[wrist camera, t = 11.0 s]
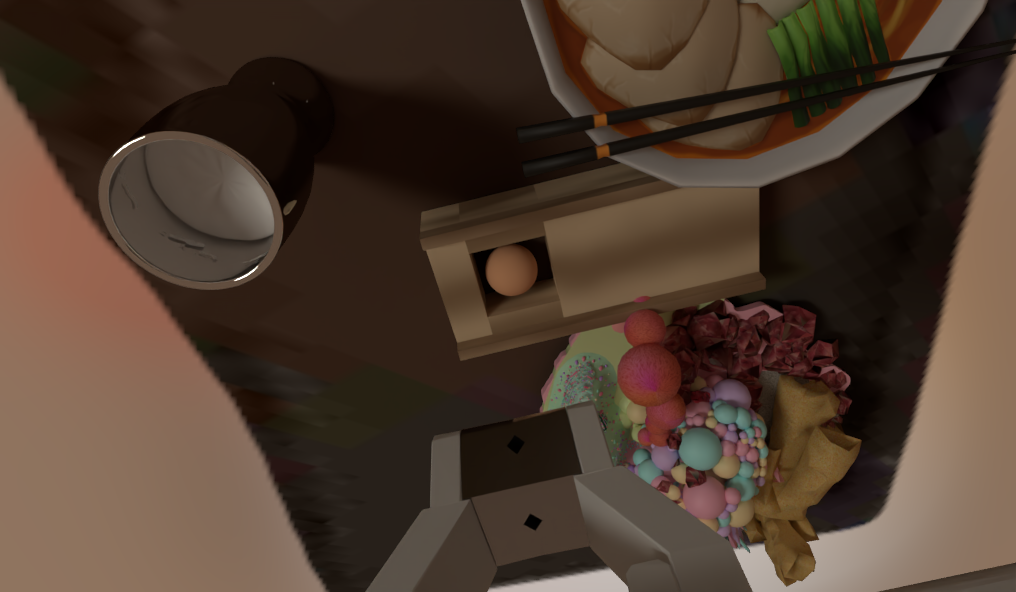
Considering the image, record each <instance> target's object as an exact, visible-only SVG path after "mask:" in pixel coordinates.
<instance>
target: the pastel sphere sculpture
mask: <svg viewBox="0 0 1016 592" xmlns="http://www.w3.org/2000/svg"><path fill="white" fill-rule="evenodd" d="M649 299H650V297H649V296H641V297H638V298H636V299H635V300H634V302H644V301H647V300H649ZM815 322H816V315H815V314H813V313H811V312H809V311H807V310H805V309H803V308H801V307H799V306H790V305H782V307H781V309H780V311H778V310H776V309H774V308H772V307H771V306H769V305H766V304H765V303H763V302H755V303H752V304H748V305H745V306H742V307H737V308H734V306H733V304H732V303H731V302H730V301H729V300H727V299H720V300H716V301H712V302H708V303H703V304H699V305H695V306H691V307H686V308H682V309H678V310H674V311H669V312H665V313H661V314H657V313H656V312H655V311H652V310H648V309H644V310H638V311H636V312H634V313H632V314H631V315H630V316H629V317H628V318H627V320H626V322H623V323H618V324H614V325H610V326H606V327H601V328H597V329H593V330H589V331H584V332H580V333H576V334H572V335H571V336H570V338H569V345H568V346H567V348H566V350H564V351H562V352H561V353H560V354H559V356H558V358H557V359H556V360H555V362H554V370H553V372H552V373H551V375H550V377H549V379H548V380H547V381H546V383H545V385H544V387H543V388H542V390H541V394H542V398H543V404H542V406H541V407H540V413H541V412H545V411H549V410H553V409H558V408H562V407H565V408H566V406H569V405H573V404H577V403H581V402H585V401H590V400H592V401H593V402H594V403H595V405H596V409H597V412H598V415H599V418H600V421H601V425H602V428H603V431H604V434H605V437H606V441H607V444H608V447H609V450H610V453H611V457H612V460H613V463H614V466H615V467H616V466H621V465H623V466H625V467H626V468H627V469H629V470H630V471H632V472H633V473H634V474H636V475H637V476H639V477H640V478H641V479H643V480H644V481H646V482H647V483H648V484H650V485H651V486H653V487H654V488H655V489H657V490H658V491H659V492H661V493H662V494H664V495H665V496H666V497H668V498H669V499H671V500H672V501H673V502H675V503H676V504H678V505H679V506H680V507H682V508H683V509H685V510H686V511H687V512H689V513H690V514H692V515H693V516H694V517H696V518H697V519H698V520H700V521H701V522H703V523H704V524H705V525H707V526H708V527H710V528H711V529H712V530H714V531H715V532H717V533H718V534H719V535H721V536H722V537H725V538H727V537H726V536H728V537H729V540H730V543H731V546H732V547H734V548H736V549H737V543H738V547H739V549H740V546H741V544H742V546H743V547H744V548H745V549H746V550H747V551H748V552H749V553H750V550H749V548H748V547H747V546H746V545H745V543H744V539H743V535H742V530H744V532H745V533H746V532H747V534H746V535H748V537H749V540H750V542H751V543H754V542H759V541H764V543H765V550H766V552H767V554H768V555H769V557H770V559H771V560H772V562H773V564H774V566H775V570H776V574H777V576H778V577H779V578H780V580H781V581H782V582H783V583H784V584H785V585H786V586H789V585H791V584H793V583H795V582H796V581H797V580H799V581H803V580H804V579H805V578H806V577H807V576H808V575H809V574H810V573H811V572H812V571H813V572H814V569H815V564H816V561H815V559H814V556H813V553H812V551H811V548H810V546H809V544H808V543H807V542H809V541H814V540H819V538H818V536H817V534H816V532H815V530H814V529H813V527H812V525H811V524H810V523H809V521H808V520H807V518H806V517H805V515H806V511H807V507H809V506H811V505H815V504H817V503H818V502H819V501H820V500H821V498H822V497H823V496H824V495H825V494H826V492H827V491H828V490H829V489H830V488H831V487H832V485H833V484H835V483H836V482H838V481H840V480H841V479H842V478H843V477H844V476H845V474H846V472H847V471H848V469H849V468H850V466H851V465H852V464H853V463H854V461H855V459H856V457H857V455H858V453H859V449H860V445H861V441H862V440H860V439H856V438H853V437H850V436H847V435H845V433H844V431H843V428H842V426H841V424H839V423H842V421H843V418H842V417H840V416H839V414H841V415H847V414H848V409H849V407H850V404H851V402H852V398H851V395H849V394H848V393H846V392H845V389H846V388H847V387H848V386H849V385H850V377H849V375H848V374H846V371H845V370H844V368H843V367H842V368H841V369H840V368H838V367H837V366H835V365H833V364H832V362H834V361H835V360H836V359H837V358H838V357H839V349H838V339H828V340H818V341H817V342H816V343H815V344H814V345H813V346H812V347H811V348H810V349H809V350H807V349H806V348H807V346H808V345H809V344H812V343H813V339H814V330H815ZM566 412H567V411H566ZM838 422H839V423H838ZM760 526H761V527H760ZM739 535H740V536H739ZM740 537H741V538H740ZM742 540H743V541H742ZM736 542H737V543H736ZM740 543H741V544H740Z"/></svg>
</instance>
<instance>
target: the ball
mask: <svg viewBox="0 0 1016 592" xmlns="http://www.w3.org/2000/svg"><path fill="white" fill-rule="evenodd" d="M537 272H538V268H537V262H536V260H535V257H534V256H533V254H532V253H531V252H530V251H529V250H528V249H527V248H525V247H523V246H521V245H518V244H508V245H504V246H500V247H498V248H496V249H495V250H494V251H493V252H492V253H491V254H490V256H489V257H488V259H487V262H486V266H485V273H486V278H487V280H488V282H489V284H490V286H491V287H492V288H493V289H494V290H495V291H497V292H498V293H500V294H503V295H506V296H516V295H520V294H523V293H524V292H526V291H527V290H529V289H530V288H531V287H532V285H533V284H534V282H535V280H536V277H537Z"/></svg>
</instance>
